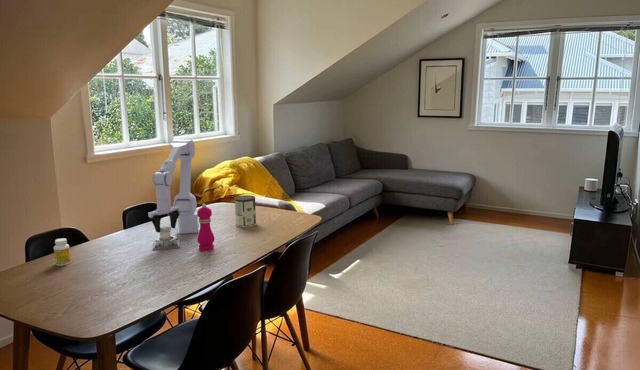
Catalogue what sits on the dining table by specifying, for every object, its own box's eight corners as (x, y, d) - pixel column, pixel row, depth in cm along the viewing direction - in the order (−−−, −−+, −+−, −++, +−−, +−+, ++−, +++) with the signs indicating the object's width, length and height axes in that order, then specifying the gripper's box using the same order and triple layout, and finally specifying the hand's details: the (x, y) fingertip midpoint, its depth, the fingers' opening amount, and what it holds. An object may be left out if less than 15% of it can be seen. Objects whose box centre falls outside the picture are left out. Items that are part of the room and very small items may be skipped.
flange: (179, 240, 219) (179, 233, 218) (179, 247, 208) (179, 240, 208) (154, 242, 216) (153, 235, 215) (152, 250, 206) (152, 243, 205)
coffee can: (244, 220, 251) (243, 194, 248) (260, 223, 246) (259, 196, 243) (231, 225, 243) (230, 198, 240) (246, 228, 237) (245, 200, 235)
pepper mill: (218, 247, 208) (216, 202, 204) (207, 252, 202) (205, 206, 198) (204, 245, 211) (202, 201, 207) (194, 250, 205) (191, 204, 201)
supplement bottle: (55, 266, 187) (52, 242, 185) (55, 262, 191) (52, 239, 190) (71, 264, 189) (68, 240, 187) (70, 260, 194) (68, 237, 192)
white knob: (168, 240, 216) (167, 225, 214) (173, 243, 212) (172, 228, 211) (157, 243, 212) (156, 227, 211) (162, 245, 209) (161, 230, 207)
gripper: (172, 195, 216) (174, 224, 219) (143, 201, 205) (145, 232, 208) (182, 197, 212) (183, 227, 215) (152, 203, 201) (155, 235, 203)
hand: (165, 230), depth 211 cm, fingers open, 7 cm apart
